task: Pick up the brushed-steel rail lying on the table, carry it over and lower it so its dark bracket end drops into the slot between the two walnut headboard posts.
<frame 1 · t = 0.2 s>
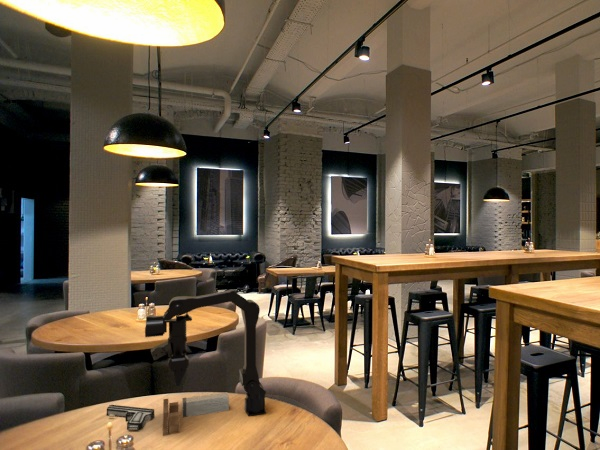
hand: (177, 380, 126), 14 cm above the table, tool pointing down, fingers open, 9 cm apart
handgun: (123, 423, 127), on the table
rail: (205, 411, 134), on the table
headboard: (173, 425, 124), on the table
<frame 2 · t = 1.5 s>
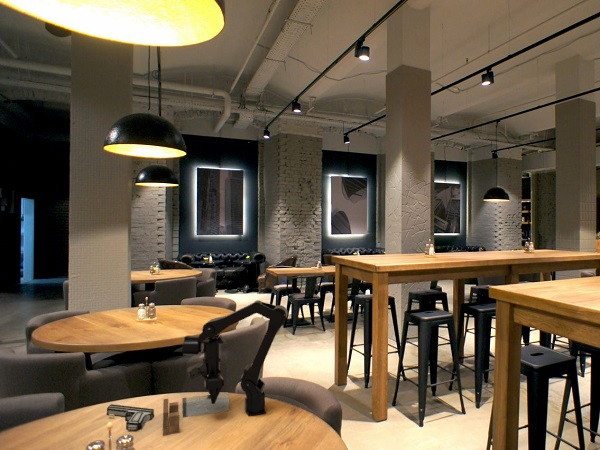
hand: (211, 398, 135), 4 cm above the table, tool pointing down, fingers open, 9 cm apart
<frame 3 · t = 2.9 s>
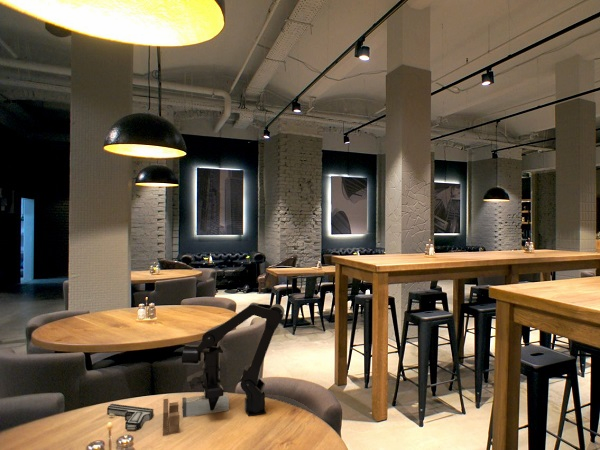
hand: (211, 407, 135), 1 cm above the table, tool pointing down, fingers closed on rail, 4 cm apart
rail: (205, 411, 134), on the table, touching gripper
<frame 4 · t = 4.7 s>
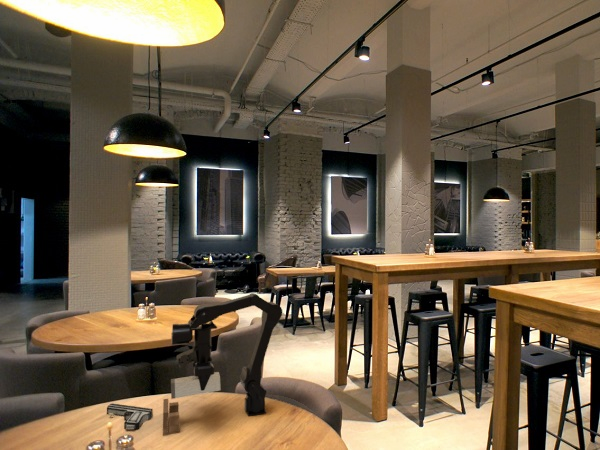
hand: (202, 387, 128), 11 cm above the table, tool pointing down, fingers closed on rail, 4 cm apart
rail: (196, 392, 127), point 10 cm above the table, touching gripper
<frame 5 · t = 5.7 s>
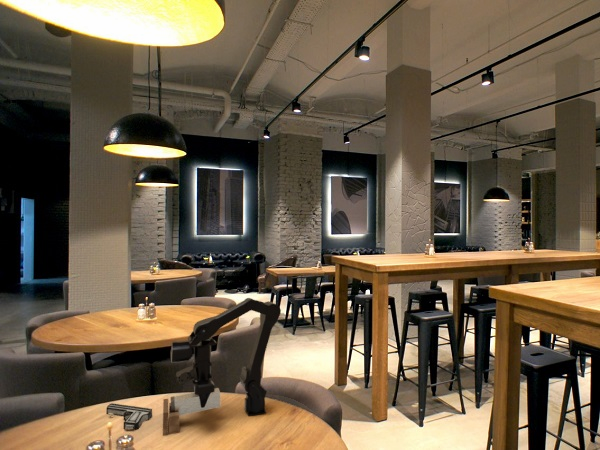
hand: (202, 404, 127), 5 cm above the table, tool pointing down, fingers closed on rail, 4 cm apart
rail: (196, 409, 127), point 4 cm above the table, touching gripper
when the fingers open (2 cm above the table, at t = 6.6 s): rail drops 1 cm, on the table.
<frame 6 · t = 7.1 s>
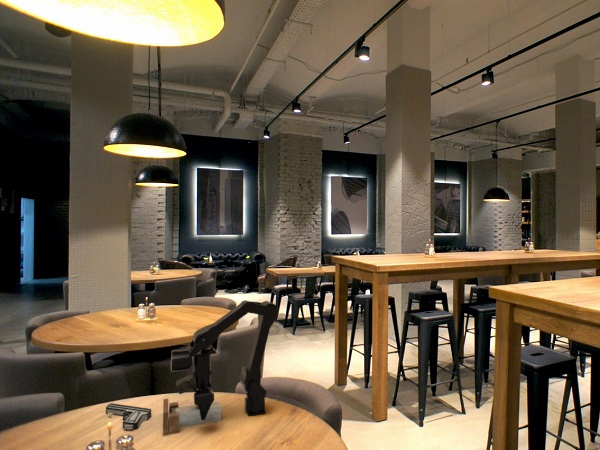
hand: (201, 413, 127), 2 cm above the table, tool pointing down, fingers open, 9 cm apart
rail: (196, 422, 126), on the table
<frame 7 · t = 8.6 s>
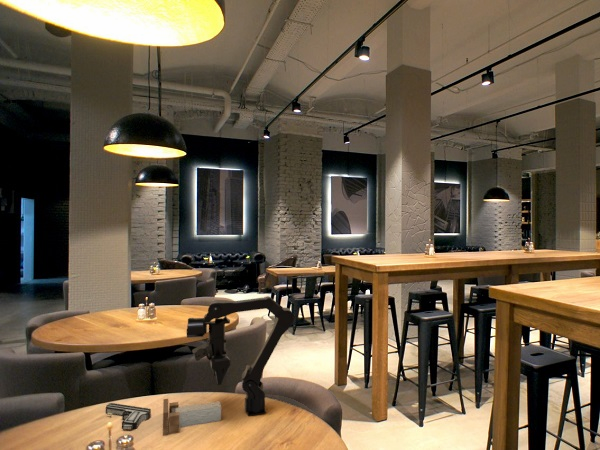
hand: (217, 380, 133), 12 cm above the table, tool pointing down, fingers open, 9 cm apart
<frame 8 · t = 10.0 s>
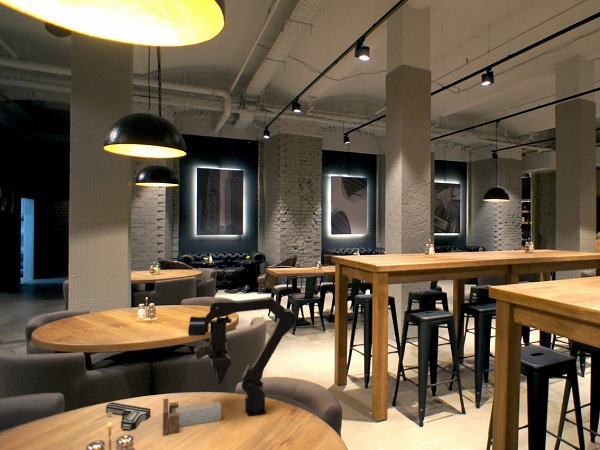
hand: (218, 379, 133), 12 cm above the table, tool pointing down, fingers open, 9 cm apart
at the end: rail 0.3 cm from the target spot on the table beside the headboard, on the table; rail tilted 0°; the gripper is holding nothing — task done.
